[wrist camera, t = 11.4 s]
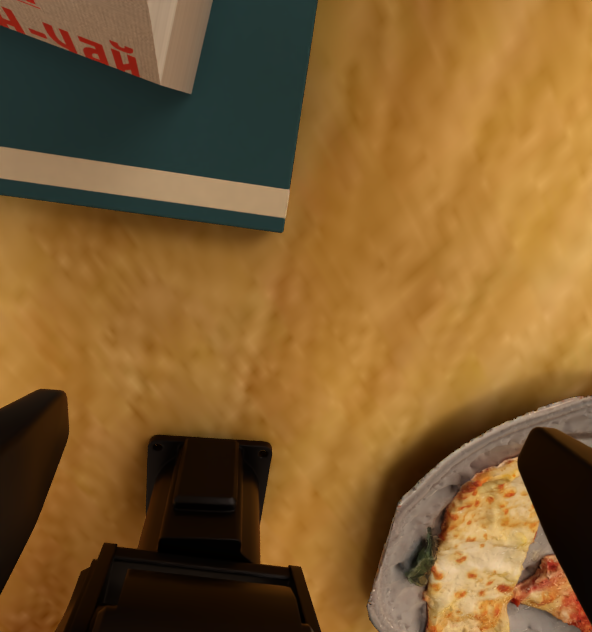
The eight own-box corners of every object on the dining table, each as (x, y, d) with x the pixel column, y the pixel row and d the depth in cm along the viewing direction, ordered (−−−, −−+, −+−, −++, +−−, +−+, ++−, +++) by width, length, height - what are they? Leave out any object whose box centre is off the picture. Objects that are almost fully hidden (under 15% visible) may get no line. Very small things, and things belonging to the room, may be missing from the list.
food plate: (618, 639, 36) (653, 690, 33) (339, 650, 33) (349, 707, 30) (791, 380, 26) (867, 418, 23) (412, 361, 23) (438, 402, 20)
